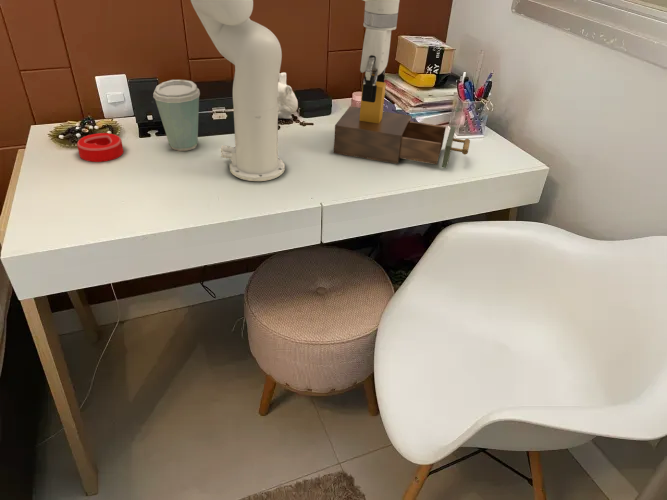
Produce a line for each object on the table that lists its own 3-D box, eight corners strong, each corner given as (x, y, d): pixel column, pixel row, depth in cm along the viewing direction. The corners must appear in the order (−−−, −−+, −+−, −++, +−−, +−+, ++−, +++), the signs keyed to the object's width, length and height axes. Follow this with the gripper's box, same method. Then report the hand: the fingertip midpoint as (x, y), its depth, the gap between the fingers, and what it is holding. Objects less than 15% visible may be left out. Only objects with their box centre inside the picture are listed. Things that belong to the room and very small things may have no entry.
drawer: (467, 150, 136) (472, 129, 133) (463, 171, 126) (468, 149, 123) (393, 138, 140) (396, 117, 137) (383, 157, 130) (386, 135, 126)
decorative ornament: (126, 144, 129) (124, 132, 128) (119, 161, 122) (117, 148, 120) (84, 144, 128) (82, 132, 126) (75, 162, 120) (72, 149, 118)
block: (359, 120, 131) (362, 84, 126) (362, 115, 134) (366, 79, 129) (378, 123, 130) (382, 87, 125) (382, 118, 133) (386, 82, 128)
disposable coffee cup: (195, 157, 126) (189, 95, 117) (152, 152, 127) (143, 90, 118) (211, 140, 134) (206, 81, 126) (170, 135, 135) (163, 76, 127)
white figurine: (268, 112, 152) (268, 70, 146) (290, 110, 155) (290, 69, 148) (277, 123, 146) (277, 80, 139) (300, 121, 149) (301, 78, 142)
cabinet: (407, 142, 140) (411, 115, 136) (397, 164, 129) (401, 135, 125) (347, 132, 144) (349, 106, 139) (333, 153, 132) (335, 124, 128)
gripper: (372, 11, 127) (365, 83, 136) (355, 25, 113) (348, 104, 123) (403, 15, 125) (394, 87, 135) (389, 29, 111) (380, 109, 121)
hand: (372, 95), depth 129 cm, fingers open, 8 cm apart
